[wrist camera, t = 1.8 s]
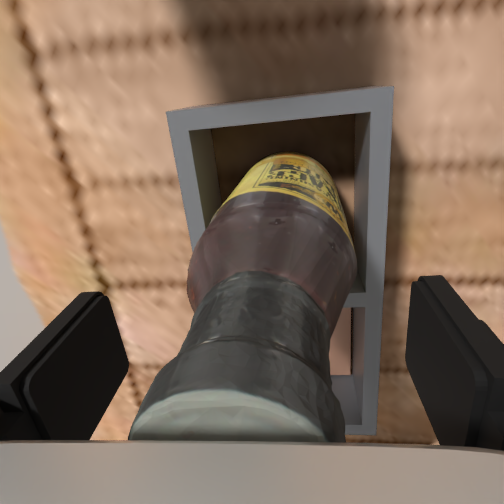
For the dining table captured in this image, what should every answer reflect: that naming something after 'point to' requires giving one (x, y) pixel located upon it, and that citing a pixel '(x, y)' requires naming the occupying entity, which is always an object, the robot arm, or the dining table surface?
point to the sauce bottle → (260, 316)
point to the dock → (365, 217)
